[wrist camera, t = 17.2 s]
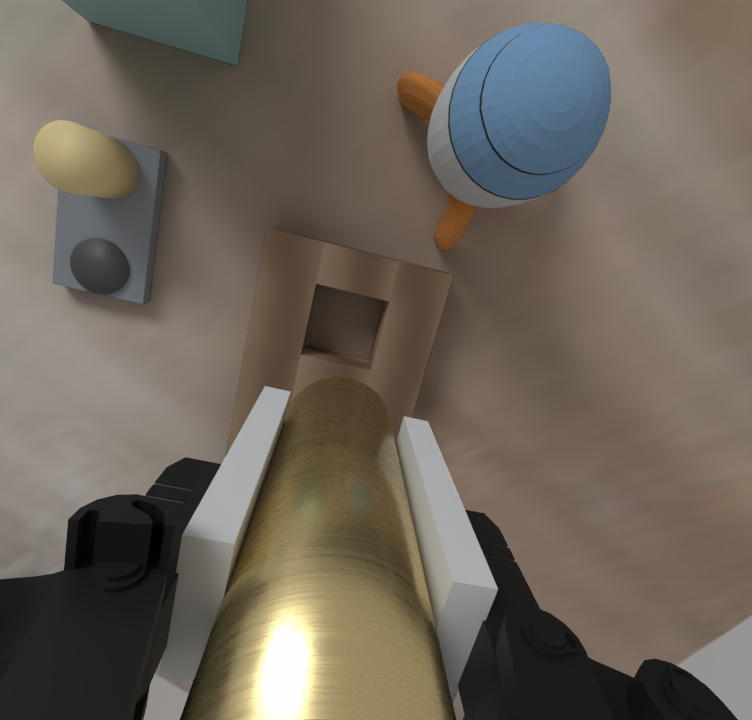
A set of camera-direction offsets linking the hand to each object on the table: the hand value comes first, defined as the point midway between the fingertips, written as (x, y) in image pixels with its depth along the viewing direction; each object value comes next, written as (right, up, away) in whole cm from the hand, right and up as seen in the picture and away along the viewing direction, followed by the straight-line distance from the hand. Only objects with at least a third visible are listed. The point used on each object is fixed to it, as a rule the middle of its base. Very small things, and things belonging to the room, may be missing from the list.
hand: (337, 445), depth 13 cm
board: (-2, +1, +19) cm, 19 cm away
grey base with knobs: (-16, +12, +15) cm, 25 cm away
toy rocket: (+6, +17, +15) cm, 23 cm away
